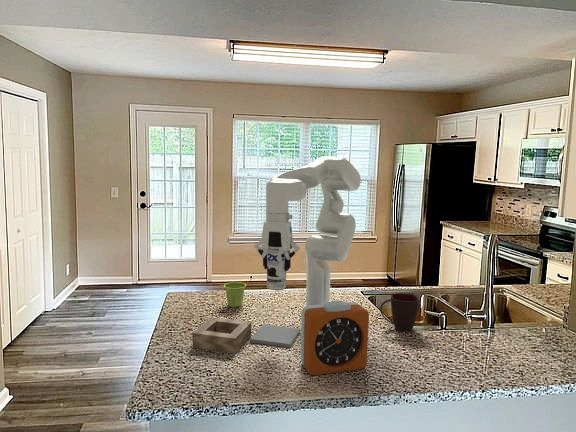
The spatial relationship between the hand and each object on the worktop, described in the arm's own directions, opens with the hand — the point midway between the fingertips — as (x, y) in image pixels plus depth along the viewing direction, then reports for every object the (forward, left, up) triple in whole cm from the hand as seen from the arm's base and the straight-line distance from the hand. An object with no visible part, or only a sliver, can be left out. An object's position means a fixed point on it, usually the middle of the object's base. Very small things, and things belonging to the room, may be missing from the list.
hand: (276, 268), depth 155 cm
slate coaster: (0, 0, -24) cm, 24 cm away
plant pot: (+26, -27, -25) cm, 45 cm away
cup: (-41, -21, -25) cm, 52 cm away
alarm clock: (-23, +16, -25) cm, 37 cm away
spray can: (0, 0, -7) cm, 7 cm away
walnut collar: (+16, +9, -24) cm, 31 cm away
